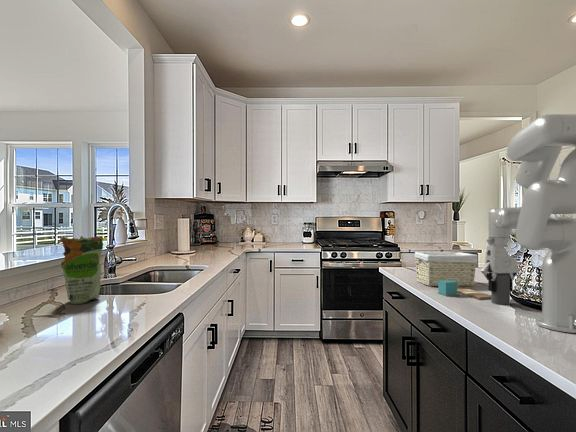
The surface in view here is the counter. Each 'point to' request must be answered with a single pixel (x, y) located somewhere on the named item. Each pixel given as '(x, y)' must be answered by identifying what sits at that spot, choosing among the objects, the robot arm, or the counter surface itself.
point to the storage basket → (445, 267)
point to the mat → (450, 295)
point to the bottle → (501, 290)
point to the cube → (447, 287)
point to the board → (473, 293)
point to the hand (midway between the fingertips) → (500, 290)
